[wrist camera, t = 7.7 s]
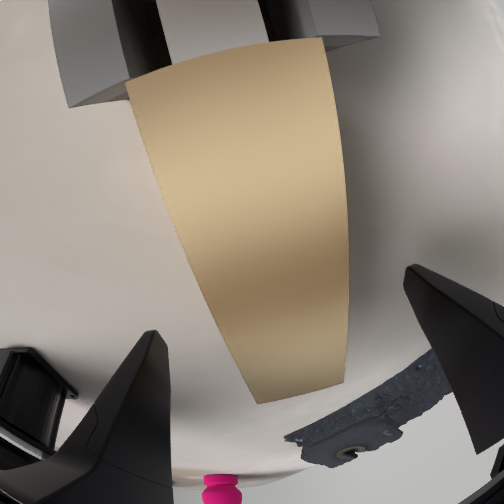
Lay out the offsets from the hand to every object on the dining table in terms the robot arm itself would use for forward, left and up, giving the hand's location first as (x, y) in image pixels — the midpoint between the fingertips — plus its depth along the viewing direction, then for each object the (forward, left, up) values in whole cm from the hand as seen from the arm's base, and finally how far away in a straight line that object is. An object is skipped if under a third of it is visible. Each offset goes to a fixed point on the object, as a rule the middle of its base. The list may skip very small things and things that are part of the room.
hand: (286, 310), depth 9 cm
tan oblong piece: (+4, 0, -4) cm, 5 cm away
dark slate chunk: (-25, -9, -4) cm, 27 cm away
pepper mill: (-46, +17, -4) cm, 50 cm away
